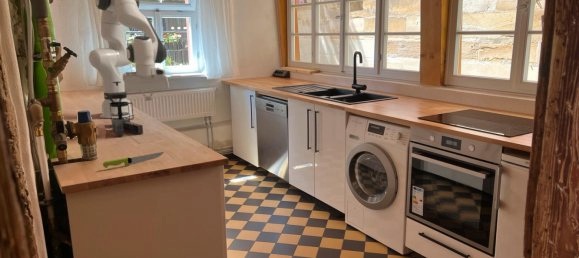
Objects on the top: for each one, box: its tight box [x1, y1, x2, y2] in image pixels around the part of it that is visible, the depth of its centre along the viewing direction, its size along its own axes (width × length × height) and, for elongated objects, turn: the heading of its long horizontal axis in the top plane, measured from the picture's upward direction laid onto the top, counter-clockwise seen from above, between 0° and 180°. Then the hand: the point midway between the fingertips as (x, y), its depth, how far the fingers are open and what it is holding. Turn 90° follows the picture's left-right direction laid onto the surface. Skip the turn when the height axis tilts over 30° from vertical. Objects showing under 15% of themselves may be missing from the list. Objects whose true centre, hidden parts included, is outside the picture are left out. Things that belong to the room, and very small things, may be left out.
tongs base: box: [111, 117, 129, 138], centre depth 209 cm, size 19×8×6 cm, turn 24°
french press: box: [109, 81, 135, 123], centre depth 222 cm, size 12×9×23 cm
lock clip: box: [97, 123, 107, 139], centre depth 204 cm, size 9×3×4 cm, turn 24°
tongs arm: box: [122, 121, 144, 135], centre depth 209 cm, size 14×2×4 cm, turn 49°
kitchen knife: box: [102, 151, 165, 169], centre depth 159 cm, size 22×1×3 cm, turn 127°
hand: (148, 100), depth 206 cm, fingers closed
